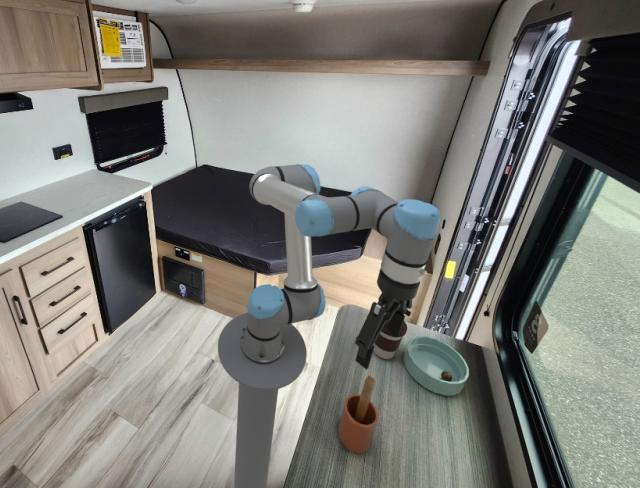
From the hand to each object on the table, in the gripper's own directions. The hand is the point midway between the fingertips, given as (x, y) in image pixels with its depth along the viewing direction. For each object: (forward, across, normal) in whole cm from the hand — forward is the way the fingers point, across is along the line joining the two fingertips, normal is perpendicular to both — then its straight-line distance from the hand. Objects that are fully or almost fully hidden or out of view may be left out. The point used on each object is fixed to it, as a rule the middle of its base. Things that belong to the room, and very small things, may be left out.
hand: (377, 348), depth 71 cm
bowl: (+33, +38, -6) cm, 50 cm away
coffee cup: (+33, +32, +8) cm, 47 cm away
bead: (+31, +37, -10) cm, 49 cm away
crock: (+33, 0, 0) cm, 33 cm away
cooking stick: (+32, 0, -1) cm, 32 cm away
